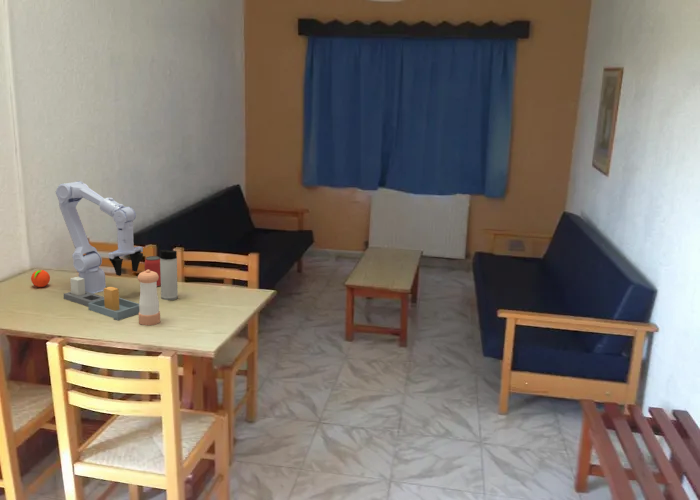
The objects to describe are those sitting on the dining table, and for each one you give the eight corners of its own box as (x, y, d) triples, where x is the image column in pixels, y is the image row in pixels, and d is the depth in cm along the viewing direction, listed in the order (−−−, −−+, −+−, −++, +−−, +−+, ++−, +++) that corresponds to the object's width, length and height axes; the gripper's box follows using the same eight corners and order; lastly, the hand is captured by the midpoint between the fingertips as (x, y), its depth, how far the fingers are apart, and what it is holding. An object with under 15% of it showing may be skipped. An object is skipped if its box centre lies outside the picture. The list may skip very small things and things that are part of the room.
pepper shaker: (148, 327, 216) (146, 273, 212) (134, 322, 220) (132, 270, 215) (164, 321, 222) (163, 269, 218) (150, 316, 226) (149, 265, 221)
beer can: (146, 288, 258) (145, 260, 255) (143, 283, 263) (143, 256, 261) (163, 286, 261) (162, 259, 258) (159, 282, 266) (159, 255, 264)
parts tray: (113, 303, 238) (113, 295, 237) (142, 312, 230) (142, 304, 229) (88, 310, 229) (88, 303, 228) (117, 320, 221) (117, 312, 220)
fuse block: (80, 295, 245) (79, 289, 244) (106, 303, 237) (106, 297, 236) (63, 299, 239) (63, 293, 239) (90, 308, 231) (90, 302, 231)
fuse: (78, 296, 242) (77, 276, 240) (85, 298, 240) (84, 278, 238) (71, 298, 240) (70, 278, 238) (78, 300, 238) (77, 280, 236)
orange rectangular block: (111, 306, 233) (110, 286, 231) (119, 309, 230) (118, 288, 229) (104, 309, 230) (103, 288, 228) (112, 311, 228) (111, 290, 226)
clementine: (44, 290, 249) (43, 273, 247) (26, 289, 249) (25, 272, 247) (53, 284, 257) (52, 267, 255) (36, 283, 257) (35, 267, 255)
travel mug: (157, 299, 245) (155, 250, 240) (168, 295, 251) (166, 246, 246) (170, 302, 242) (169, 252, 238) (180, 297, 248) (180, 248, 244)
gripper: (116, 243, 230) (118, 279, 234) (147, 237, 242) (148, 271, 246) (104, 240, 234) (105, 275, 237) (135, 234, 246) (136, 267, 249)
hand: (126, 273), depth 242 cm, fingers open, 7 cm apart
